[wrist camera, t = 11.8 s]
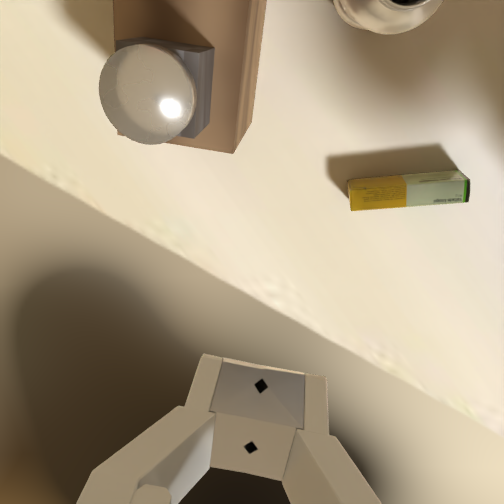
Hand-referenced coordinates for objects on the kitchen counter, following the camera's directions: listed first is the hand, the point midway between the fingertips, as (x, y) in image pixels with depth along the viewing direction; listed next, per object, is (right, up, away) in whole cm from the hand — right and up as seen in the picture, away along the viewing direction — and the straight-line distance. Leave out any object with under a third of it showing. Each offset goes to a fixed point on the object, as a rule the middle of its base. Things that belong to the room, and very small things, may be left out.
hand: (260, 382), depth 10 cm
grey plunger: (-6, +16, +22) cm, 28 cm away
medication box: (+17, +11, +37) cm, 42 cm away
